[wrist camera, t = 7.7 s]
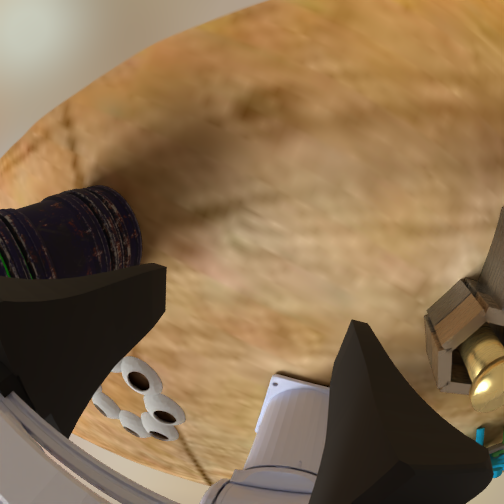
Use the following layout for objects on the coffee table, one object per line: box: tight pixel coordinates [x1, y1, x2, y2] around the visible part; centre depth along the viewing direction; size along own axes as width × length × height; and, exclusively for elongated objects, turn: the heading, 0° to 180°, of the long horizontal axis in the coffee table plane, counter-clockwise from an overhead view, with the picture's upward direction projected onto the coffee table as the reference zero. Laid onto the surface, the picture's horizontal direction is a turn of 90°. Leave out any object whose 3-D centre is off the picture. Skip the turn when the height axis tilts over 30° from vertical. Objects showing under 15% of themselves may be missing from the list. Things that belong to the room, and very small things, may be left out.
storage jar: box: [0, 185, 142, 279], centre depth 18 cm, size 10×10×15 cm
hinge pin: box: [457, 322, 504, 412], centre depth 14 cm, size 4×4×8 cm
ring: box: [92, 356, 185, 441], centre depth 33 cm, size 20×20×2 cm
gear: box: [476, 428, 504, 478], centre depth 19 cm, size 11×6×10 cm
